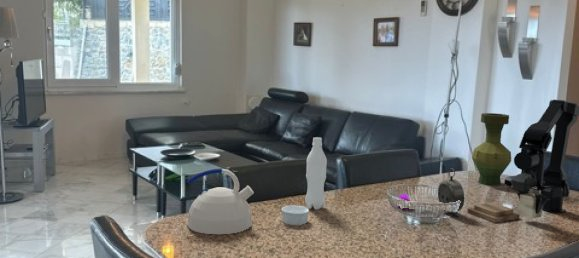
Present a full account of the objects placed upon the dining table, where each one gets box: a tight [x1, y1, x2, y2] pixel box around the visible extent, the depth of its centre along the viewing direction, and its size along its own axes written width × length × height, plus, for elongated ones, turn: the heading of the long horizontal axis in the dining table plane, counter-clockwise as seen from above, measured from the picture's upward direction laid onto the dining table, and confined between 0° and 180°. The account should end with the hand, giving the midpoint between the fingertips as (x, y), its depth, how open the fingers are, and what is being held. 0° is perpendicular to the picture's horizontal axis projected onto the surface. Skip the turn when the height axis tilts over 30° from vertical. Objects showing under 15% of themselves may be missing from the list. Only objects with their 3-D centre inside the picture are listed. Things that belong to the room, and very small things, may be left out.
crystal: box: [397, 193, 412, 202], centre depth 194 cm, size 5×5×5 cm
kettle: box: [186, 168, 255, 236], centre depth 169 cm, size 20×21×18 cm
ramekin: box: [281, 205, 310, 226], centre depth 175 cm, size 9×9×4 cm
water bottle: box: [304, 136, 328, 211], centre depth 189 cm, size 7×7×25 cm
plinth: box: [467, 202, 521, 224], centre depth 188 cm, size 12×12×3 cm
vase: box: [471, 112, 512, 187], centre depth 233 cm, size 16×16×30 cm
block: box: [517, 192, 543, 220], centre depth 181 cm, size 5×5×7 cm
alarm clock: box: [437, 167, 465, 218], centre depth 188 cm, size 11×5×16 cm, turn 14°
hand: (530, 211), depth 181 cm, fingers closed on block, 5 cm apart
